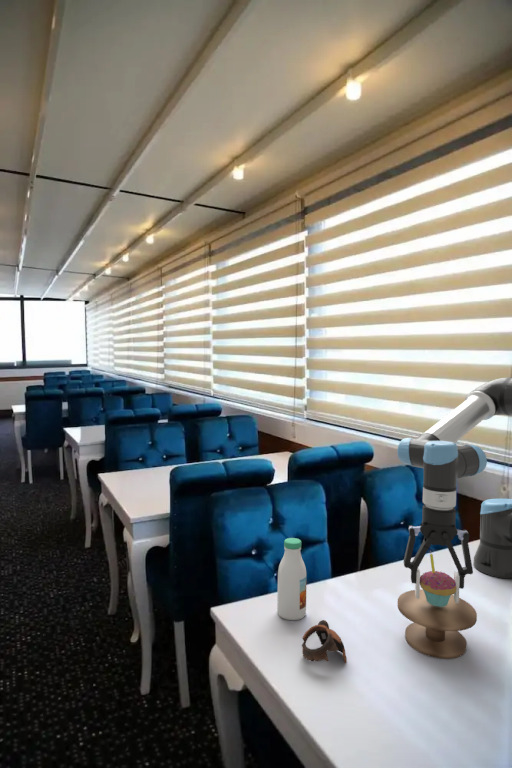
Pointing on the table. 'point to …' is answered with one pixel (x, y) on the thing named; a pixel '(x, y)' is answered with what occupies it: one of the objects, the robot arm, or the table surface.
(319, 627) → the broken pottery fragment
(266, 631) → the table surface
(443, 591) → the cupcake
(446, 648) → the cake stand
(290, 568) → the milk bottle
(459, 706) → the table surface
